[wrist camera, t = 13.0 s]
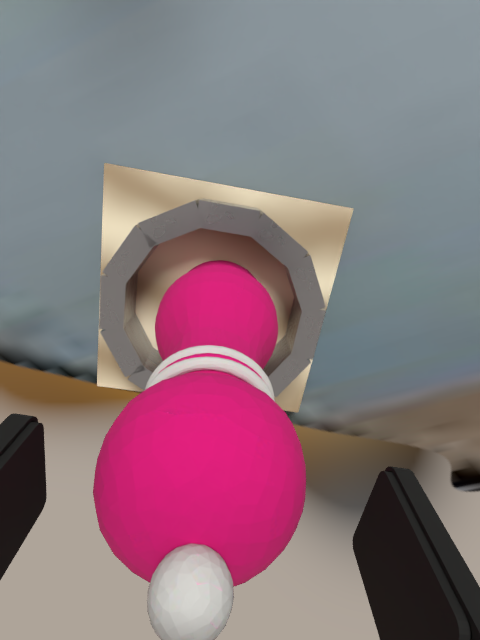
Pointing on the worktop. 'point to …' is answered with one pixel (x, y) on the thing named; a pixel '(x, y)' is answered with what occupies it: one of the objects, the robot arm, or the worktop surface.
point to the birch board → (213, 250)
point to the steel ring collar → (143, 239)
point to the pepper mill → (203, 456)
